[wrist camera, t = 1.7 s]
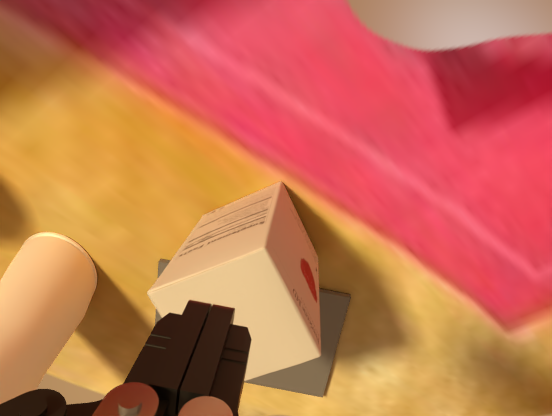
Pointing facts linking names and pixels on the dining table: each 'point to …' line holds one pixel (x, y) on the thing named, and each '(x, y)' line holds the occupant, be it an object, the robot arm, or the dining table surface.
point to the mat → (312, 372)
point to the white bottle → (41, 308)
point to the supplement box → (252, 277)
